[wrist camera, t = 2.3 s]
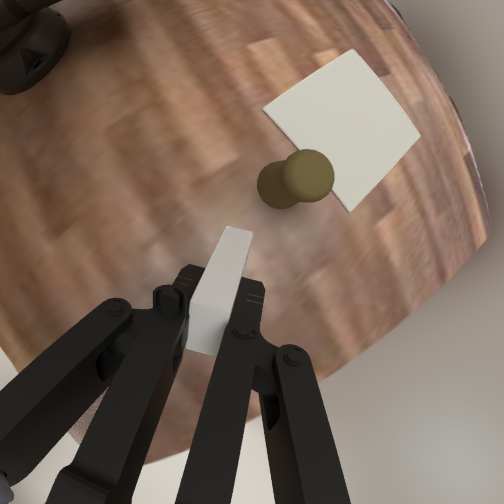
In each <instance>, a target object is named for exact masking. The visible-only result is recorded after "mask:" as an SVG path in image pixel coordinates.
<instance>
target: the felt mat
mask: <svg viewBox="0 0 504 504" xmlns="http://www.w3.org/2000/svg"><path fill="white" fill-rule="evenodd" d="M262 110H263V111H264V112H265V114H266V115H267V116H268V117H269V118H270V119H271V120H272V121H273V122H274V123H275V124H276V125H277V126H278V128H279V129H280V130H281V131H282V132H283V133H284V134H285V135H286V136H287V138H288V139H289V140H290V141H291V142H292V143H293V144H294V146H295V147H296V148H297V149H298V150H302V149H311V150H316V151H318V152H321V153H322V154H324V155H325V156H326V157H327V158H328V159H329V161H330V162H331V164H332V166H333V169H334V173H335V181H334V184H333V188H332V189H331V190H332V192H333V193H334V194H335V195H336V197H337V198H338V199H339V201H340V202H341V203H342V205H343V206H344V207H345V209H346V210H347V211H348V213H350V212H351V211H352V210H353V209H354V208H355V207H356V206H357V205H358V204H359V203H360V202H361V200H362V199H363V198H364V197H365V196H366V195H367V194H368V193H369V192H370V191H371V190H372V189H373V188H374V187H375V186H376V185H377V184H378V182H379V181H380V180H381V179H382V178H383V177H384V176H385V175H386V174H387V173H388V172H389V171H390V169H391V168H392V167H393V166H394V165H395V164H396V163H397V162H398V161H399V160H400V159H401V157H402V156H403V155H404V154H405V153H406V152H407V151H408V150H409V149H410V147H411V146H412V145H413V144H414V143H415V142H416V141H417V140H418V138H419V137H420V134H419V133H418V131H417V130H416V128H415V127H414V125H413V124H412V122H411V121H410V119H409V118H408V116H407V115H406V113H405V112H404V111H403V109H402V108H401V106H400V105H399V104H398V102H397V101H396V100H395V98H394V97H393V96H392V94H391V93H390V92H389V90H388V89H387V88H386V87H385V85H384V84H383V83H382V82H381V80H380V79H379V78H378V77H377V75H376V74H375V73H374V72H373V71H372V70H371V68H370V67H369V66H368V65H367V64H366V63H365V61H364V60H363V59H362V58H361V57H360V56H359V55H358V54H357V53H356V52H355V50H354V49H351V50H349V51H348V52H346V53H344V54H342V55H341V56H339V57H338V58H336V59H334V60H333V61H331V62H329V63H328V64H326V65H325V66H323V67H322V68H320V69H318V70H317V71H315V72H314V73H312V74H311V75H309V76H308V77H306V78H305V79H303V80H302V81H300V82H299V83H297V84H296V85H294V86H293V87H292V88H290V89H289V90H287V91H286V92H284V93H283V94H282V95H280V96H279V97H277V98H276V99H275V100H273V101H272V102H271V103H269V104H268V105H266V106H265V107H264V108H262Z"/></svg>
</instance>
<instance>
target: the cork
mask: <svg viewBox="0 0 504 504" xmlns="http://www.w3.org/2000/svg"><path fill="white" fill-rule="evenodd" d="M334 181H335V173H334V169H333V166H332V164H331V162H330V161H329V159H328V158H327V157H326V156H325V155H324V154H322V153H321V152H318V151H316V150H311V149H302V150H298V151H296V152H294V153H293V154H291V155H290V156H289V157H288V158H287V159H286V160H284V161H278V162H274V163H270V164H269V165H267V166H266V167H264V168H263V170H262V171H261V172H260V174H259V177H258V180H257V188H258V191H259V195H260V196H261V198H262V199H263V201H264V202H266V203H267V204H268V205H269V206H272V207H274V208H281V209H284V208H288V207H291V206H293V205H295V204H296V203H298V202H300V201H301V202H316V201H319V200H321V199H323V198H324V197H325V196H327V195H328V194H329V192H330V191H331V189H332V188H333V184H334Z"/></svg>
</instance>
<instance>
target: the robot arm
mask: <svg viewBox="0 0 504 504" xmlns="http://www.w3.org/2000/svg"><path fill="white" fill-rule="evenodd" d="M59 1H62V0H0V92H2V93H4V94H16V93H19V92H22V91H24V90H26V89H28V88H29V87H31V86H32V85H34V84H35V83H37V82H38V81H39V80H40V79H41V78H43V77H44V76H45V75H46V74H47V73H48V72H49V71H50V70H51V68H52V67H53V66H54V65H55V64H56V62H57V61H58V60H59V58H60V57H61V55H62V53H63V52H64V50H65V48H66V46H67V43H68V40H69V36H70V28H69V25H68V23H67V21H66V20H65V18H64V17H63V15H62V14H60V13H59V12H57V11H53V10H52V9H50V8H49V7H48V6H50V5H52V4H55V3H57V2H59ZM252 236H253V232H251V231H247V230H243V229H239V228H235V227H231V226H226V228H225V230H224V232H223V234H222V236H221V238H220V240H219V242H218V244H217V246H216V248H215V250H214V252H213V255H212V257H211V259H210V261H209V263H208V265H207V267H206V268H203V267H199V266H195V265H191V264H189V265H187V266H185V267H184V268H182V269H181V271H180V272H179V274H178V277H176V279H175V281H174V283H173V284H172V285H161V286H159V287H157V288H156V289H155V290H154V291H153V308H152V309H132V307H131V305H130V303H129V302H127V301H126V300H124V299H121V298H111V299H107V300H106V301H104V302H102V303H101V304H100V305H99V306H97V307H96V308H95V309H94V310H92V311H91V312H90V313H89V314H88V315H86V316H85V317H84V318H83V319H81V320H80V321H79V322H78V323H77V324H75V325H74V326H73V327H72V328H71V329H69V330H68V331H67V332H66V333H65V334H63V335H62V336H61V337H60V338H59V339H58V340H56V341H55V342H54V343H53V344H52V345H51V346H49V347H48V348H47V349H46V350H45V351H44V352H43V353H41V354H40V355H39V356H38V357H37V358H36V359H35V360H33V361H32V362H31V363H30V364H29V365H28V366H27V367H26V368H25V369H23V370H22V371H21V372H20V373H19V374H18V375H17V376H16V377H15V378H14V379H13V380H12V381H10V382H9V383H8V384H7V385H6V386H5V387H4V388H3V389H2V390H1V391H0V504H8V503H9V502H11V501H13V499H14V494H13V491H12V490H11V488H10V487H11V486H13V485H15V484H17V483H19V482H20V481H21V480H23V479H24V478H25V477H27V476H28V474H30V473H31V472H32V471H33V469H34V468H35V467H36V466H37V465H38V464H39V462H41V460H42V459H43V458H44V457H45V456H46V455H47V454H48V453H49V451H50V450H51V449H52V448H53V447H54V446H55V445H56V444H57V442H58V441H59V440H60V439H61V438H62V437H63V436H64V435H65V434H66V432H67V431H68V430H69V429H70V428H71V427H72V426H73V425H74V424H75V423H76V421H77V420H78V419H79V418H80V417H81V416H82V415H83V414H84V413H85V411H86V410H87V409H88V408H89V407H90V406H91V405H92V404H93V403H94V402H95V400H96V399H97V398H98V397H99V396H100V395H101V394H102V393H103V392H104V391H105V390H106V388H107V387H108V386H109V385H110V386H109V388H108V389H107V391H106V393H105V395H104V397H103V399H102V401H101V403H100V405H99V407H98V409H97V411H96V413H95V415H94V417H93V419H92V421H91V423H90V425H89V427H88V429H87V432H86V434H85V436H84V438H83V440H82V442H81V444H80V446H79V449H78V451H77V453H76V455H75V458H74V459H73V461H72V463H71V464H70V465H68V466H66V467H64V468H63V469H62V470H61V471H60V472H59V473H58V475H57V477H56V479H55V482H54V484H53V486H52V489H51V491H50V494H49V496H48V498H47V501H46V503H45V504H131V503H132V496H133V493H134V490H135V487H136V484H137V481H138V478H139V475H140V473H141V470H142V467H143V464H144V461H145V458H146V455H147V452H148V450H149V447H150V444H151V441H152V438H153V436H154V433H155V430H156V427H157V425H158V422H159V419H160V416H161V414H162V411H163V408H164V406H165V403H166V400H167V398H168V395H169V392H170V390H171V387H172V384H173V382H174V379H175V376H176V374H177V371H178V368H179V366H180V363H181V361H182V357H183V349H184V347H185V344H186V349H189V350H193V351H196V352H200V353H203V354H207V355H211V356H214V357H216V361H215V364H214V368H213V371H212V375H211V378H210V382H209V385H208V389H207V392H206V395H205V399H204V402H203V406H202V409H201V413H200V416H199V420H198V423H197V427H196V430H195V434H194V437H193V441H192V444H191V448H190V451H189V455H188V459H187V462H186V465H185V469H184V473H183V476H182V479H181V483H180V487H179V490H178V494H177V497H176V501H175V504H230V503H231V498H232V493H233V488H234V482H235V477H236V472H237V466H238V461H239V456H240V450H241V445H242V439H243V434H244V428H245V422H246V417H247V411H248V405H249V399H250V393H251V389H252V390H254V391H256V392H258V393H259V401H260V407H261V414H262V421H263V428H264V434H265V441H266V447H267V454H268V461H269V467H270V473H271V480H272V486H273V493H274V499H275V504H351V502H350V498H349V494H348V491H347V487H346V483H345V479H344V475H343V472H342V468H341V464H340V461H339V457H338V453H337V450H336V446H335V442H334V439H333V435H332V432H331V428H330V425H329V422H328V418H327V415H326V411H325V407H324V404H323V400H322V397H321V393H320V390H319V387H318V383H317V380H316V376H315V373H314V370H313V366H312V363H311V360H310V357H309V355H308V353H307V352H306V351H305V350H304V349H302V348H301V347H298V346H296V345H291V344H288V345H283V346H281V347H279V348H278V347H276V346H275V345H273V344H271V343H269V342H268V341H266V340H265V339H264V338H263V336H262V335H261V332H260V321H261V315H262V308H263V302H264V295H265V288H264V285H263V283H262V282H260V281H256V280H252V279H248V278H244V277H243V273H244V269H245V265H246V261H247V257H248V253H249V249H250V245H251V240H252Z"/></svg>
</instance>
